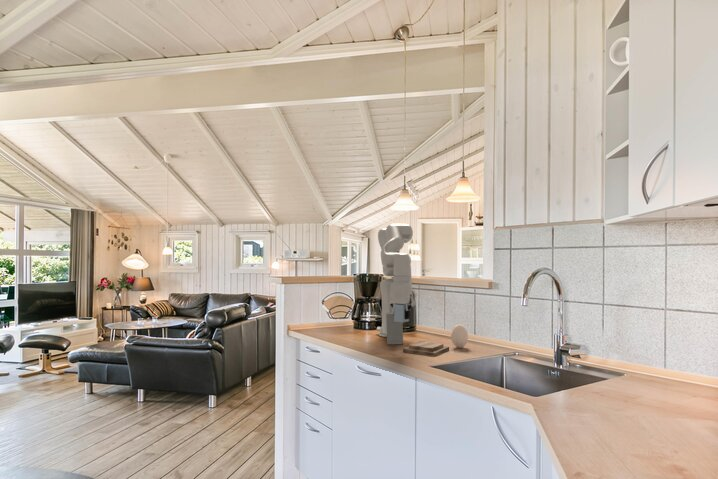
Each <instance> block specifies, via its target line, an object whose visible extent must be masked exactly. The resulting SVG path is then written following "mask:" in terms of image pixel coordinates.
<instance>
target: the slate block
mask: <svg viewBox="0 0 718 479" xmlns="http://www.w3.org/2000/svg"><path fill="white" fill-rule="evenodd" d="M405 311H406V309H405V305H404V304H394V321H395V322H403V323H407V322H409V321H410V318H409V319H405Z"/></svg>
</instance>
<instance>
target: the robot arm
mask: <svg viewBox="0 0 718 479" xmlns="http://www.w3.org/2000/svg"><path fill="white" fill-rule="evenodd" d="M413 232H414V231H413V227H412V226H411V225H410V224H407V223H392V224H388V225H387V226H386V227H385V228H381V229H379V230H378V232H377V241H378V244H379V247H380V249H381V250H380V259H381V265H382V273H383V275H384V276H385V277H391V278H384V279H382V280H381V281H380V286H379V287H380V294H381V326H377V327H376V331H379V333H378V335H379V336H380V337H383V338H387V322H386V313H387V312H394V304H404V305H405V309H406V311H405V319H409V320H410V317H411V313H410V311H411V309H412V308H413V307H414V306H416V305H417V303H416V301H415V299H414V297H413V294H414V293H413V285H412V284H413V283H412V281H413V280H412V266H411V263H412V258H411V256H410V254H409V253H406V252H398V251H400V250H402V249H403V247H404V245H405V244H408V243H409V242H410V241H411V240H412V238H413V234H414V233H413Z"/></svg>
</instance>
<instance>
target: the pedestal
mask: <svg viewBox="0 0 718 479" xmlns="http://www.w3.org/2000/svg"><path fill="white" fill-rule="evenodd" d="M448 351H450V346H445V345H444V343H438V342H432V341H431V342H430V341H422V340H420V341H417V342H413V343H411V344H409V345H408V346H406V347H404V348H402V353H408V354H416V355H421V354H422V356H428V357H437V356H439V355H441V354H444V353H447V352H448Z"/></svg>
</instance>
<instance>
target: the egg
mask: <svg viewBox="0 0 718 479" xmlns="http://www.w3.org/2000/svg"><path fill="white" fill-rule="evenodd" d="M450 333H451V334H450V339H451V342H452V344H453V346H454V347H456V348H458V349H462V348H464V347H465V346H466V345H467V343H468V341H469V334H468V330H467V328H466V327H465V325H463V324H461V323H458V324H456V325H454V327H453V329H452V331H451V332H450Z"/></svg>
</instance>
